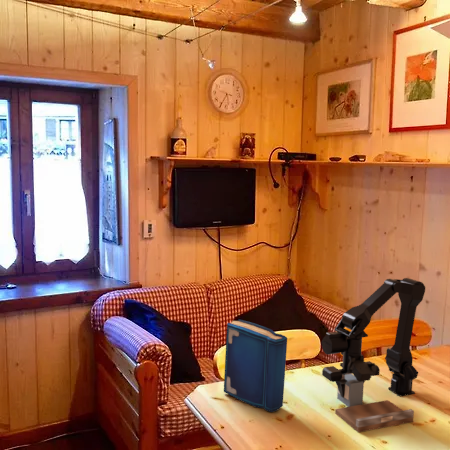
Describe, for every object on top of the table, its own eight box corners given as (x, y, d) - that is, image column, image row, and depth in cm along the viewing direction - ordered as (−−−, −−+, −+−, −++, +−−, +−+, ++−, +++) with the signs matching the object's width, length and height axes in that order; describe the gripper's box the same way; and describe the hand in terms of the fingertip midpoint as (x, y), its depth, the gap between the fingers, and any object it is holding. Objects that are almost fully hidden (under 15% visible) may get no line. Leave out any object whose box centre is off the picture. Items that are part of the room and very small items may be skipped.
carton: (349, 396, 175) (351, 373, 174) (362, 405, 168) (363, 382, 167) (336, 398, 173) (338, 375, 172) (348, 407, 167) (350, 384, 166)
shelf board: (387, 404, 170) (388, 394, 169) (413, 421, 158) (414, 411, 158) (335, 413, 162) (335, 402, 162) (358, 432, 151) (358, 421, 151)
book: (287, 409, 165) (290, 333, 162) (273, 416, 159) (276, 338, 156) (236, 387, 179) (238, 317, 176) (222, 394, 174) (224, 322, 171)
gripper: (341, 362, 158) (339, 411, 160) (391, 356, 165) (388, 402, 166) (322, 350, 168) (320, 395, 170) (370, 344, 175) (367, 388, 177)
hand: (349, 396), depth 171 cm, fingers closed on carton, 5 cm apart
